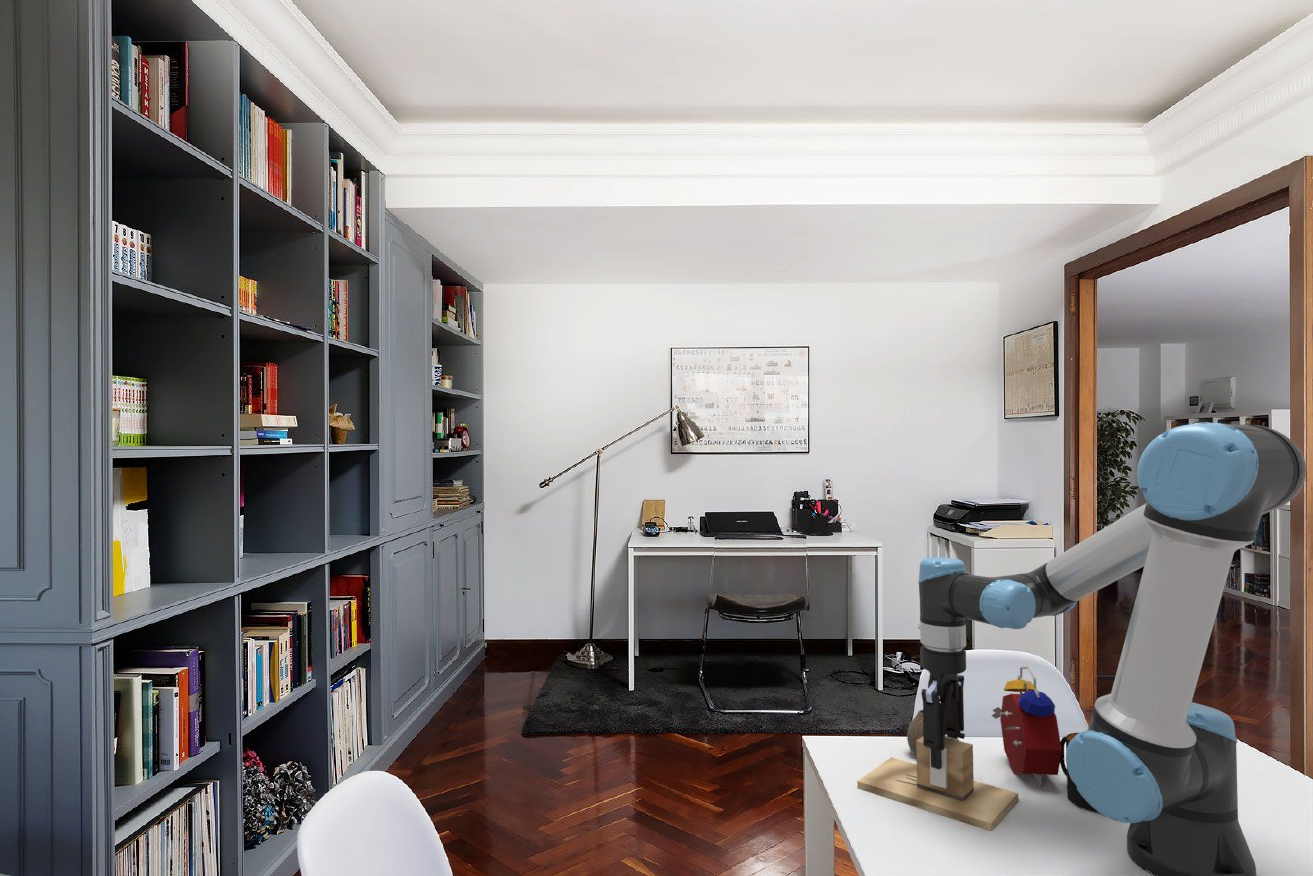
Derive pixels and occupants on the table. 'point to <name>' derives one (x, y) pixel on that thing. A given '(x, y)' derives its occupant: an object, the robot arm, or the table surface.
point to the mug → (1071, 786)
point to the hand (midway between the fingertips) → (945, 780)
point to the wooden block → (948, 769)
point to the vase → (915, 731)
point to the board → (939, 795)
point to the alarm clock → (1029, 729)
